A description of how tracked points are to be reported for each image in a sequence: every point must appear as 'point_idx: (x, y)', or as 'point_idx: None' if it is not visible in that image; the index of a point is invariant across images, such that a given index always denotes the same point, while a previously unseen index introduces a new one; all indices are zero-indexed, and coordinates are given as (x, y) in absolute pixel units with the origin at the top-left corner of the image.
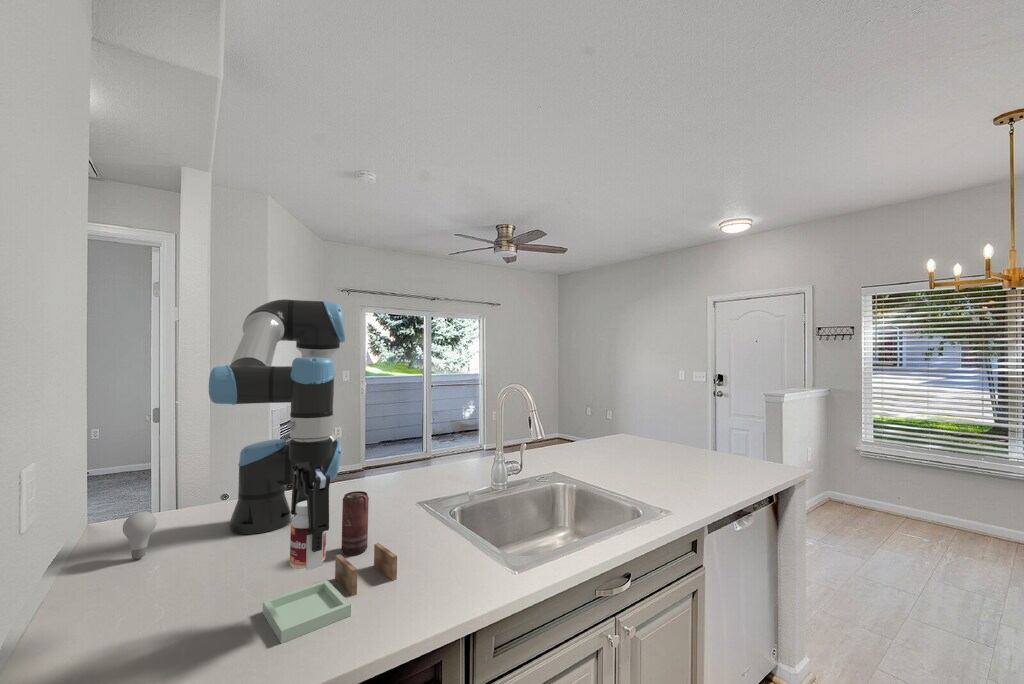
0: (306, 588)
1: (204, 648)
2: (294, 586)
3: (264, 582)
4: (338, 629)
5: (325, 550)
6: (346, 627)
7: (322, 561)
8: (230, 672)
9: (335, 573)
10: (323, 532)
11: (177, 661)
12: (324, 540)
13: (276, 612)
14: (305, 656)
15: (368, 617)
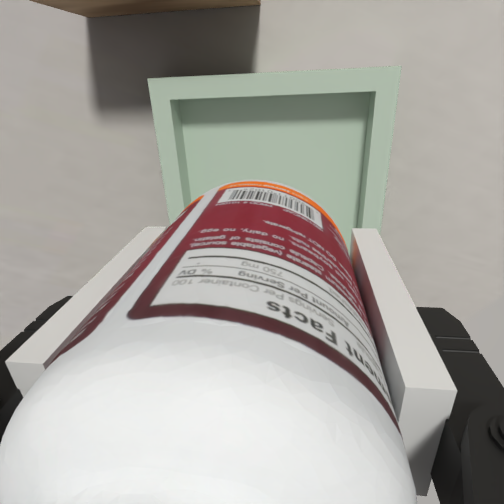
0: (173, 166)
1: None
2: (81, 163)
3: (18, 226)
4: (431, 133)
5: (299, 203)
6: (443, 107)
7: (379, 239)
8: None
9: (79, 13)
10: (444, 369)
11: None
12: (333, 259)
13: None
14: (470, 247)
15: (456, 9)
